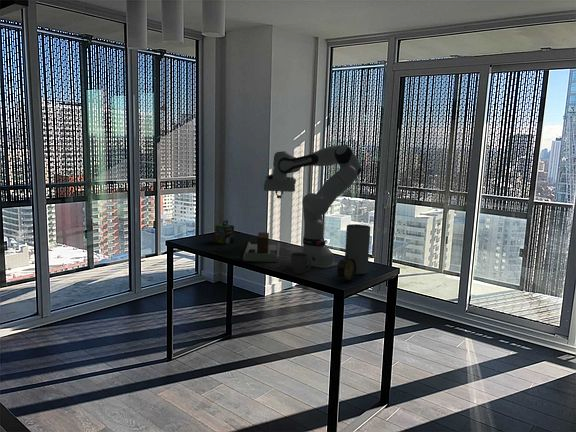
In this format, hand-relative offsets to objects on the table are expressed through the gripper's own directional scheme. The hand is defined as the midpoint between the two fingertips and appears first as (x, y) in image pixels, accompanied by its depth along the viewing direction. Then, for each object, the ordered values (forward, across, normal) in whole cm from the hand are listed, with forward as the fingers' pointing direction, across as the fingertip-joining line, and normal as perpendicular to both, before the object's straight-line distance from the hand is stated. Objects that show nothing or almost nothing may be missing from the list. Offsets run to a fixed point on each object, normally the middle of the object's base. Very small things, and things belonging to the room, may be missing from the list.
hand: (279, 198), depth 313 cm
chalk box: (+31, +35, -3) cm, 47 cm away
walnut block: (+30, +8, +33) cm, 45 cm away
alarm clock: (+32, -36, +74) cm, 89 cm away
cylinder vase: (+31, -44, +56) cm, 78 cm away
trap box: (+31, +8, +24) cm, 40 cm away
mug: (+31, -14, +62) cm, 71 cm away
